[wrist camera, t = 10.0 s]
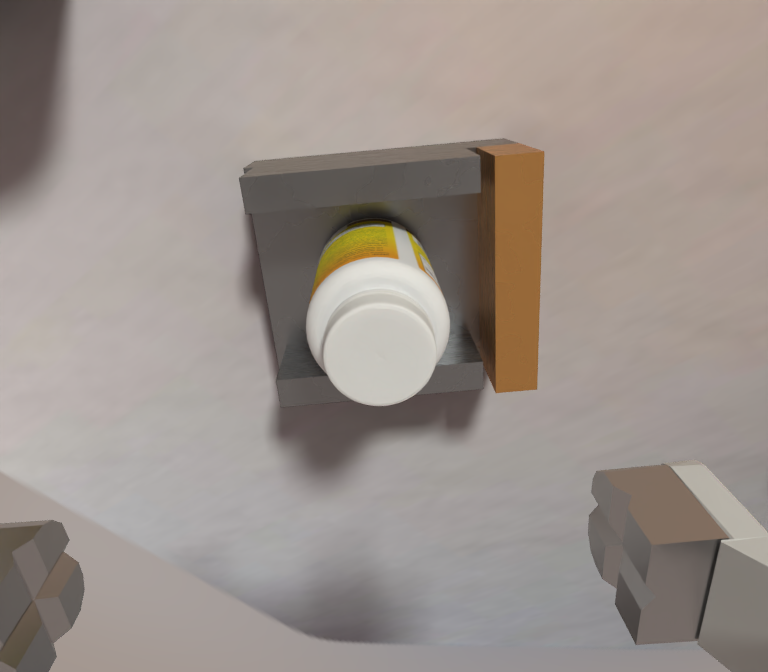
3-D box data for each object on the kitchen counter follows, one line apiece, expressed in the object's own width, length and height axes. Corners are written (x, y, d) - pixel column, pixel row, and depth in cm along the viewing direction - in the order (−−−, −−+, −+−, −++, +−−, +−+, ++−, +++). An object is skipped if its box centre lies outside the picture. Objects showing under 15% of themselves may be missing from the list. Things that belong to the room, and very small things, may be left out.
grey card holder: (287, 351, 33) (269, 413, 27) (254, 161, 29) (224, 180, 23) (503, 332, 33) (536, 389, 27) (504, 138, 29) (544, 151, 23)
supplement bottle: (299, 287, 29) (268, 383, 19) (353, 193, 27) (349, 247, 17) (391, 338, 30) (405, 450, 21) (449, 251, 28) (493, 331, 19)
